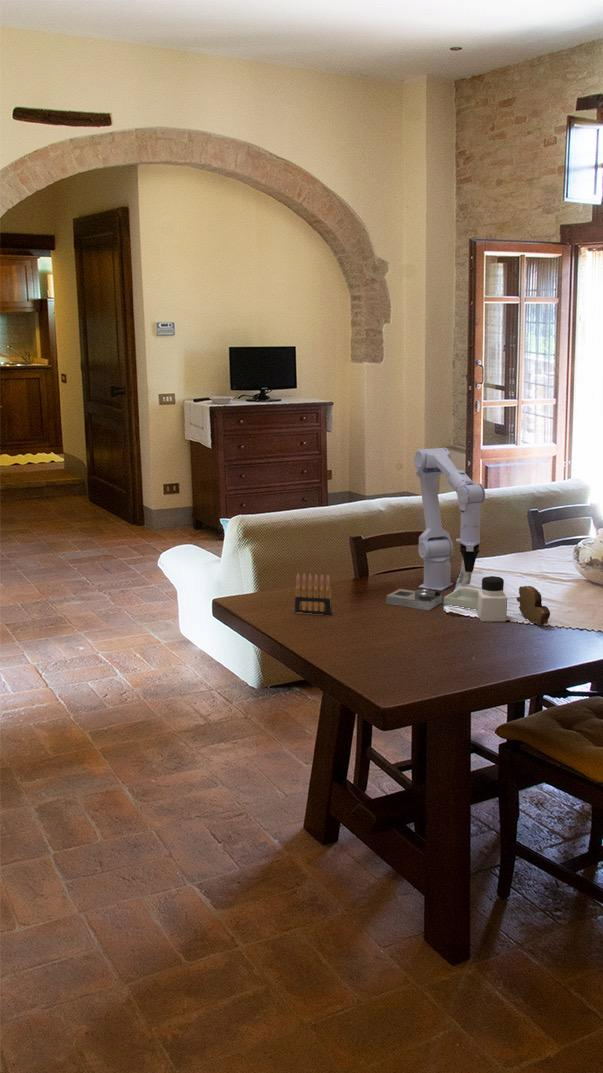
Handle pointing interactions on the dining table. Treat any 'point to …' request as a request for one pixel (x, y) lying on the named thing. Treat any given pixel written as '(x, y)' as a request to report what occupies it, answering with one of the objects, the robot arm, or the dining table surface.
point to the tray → (462, 599)
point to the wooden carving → (532, 605)
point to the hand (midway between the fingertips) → (469, 569)
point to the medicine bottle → (492, 600)
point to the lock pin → (464, 575)
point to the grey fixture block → (415, 598)
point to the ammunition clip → (313, 596)
